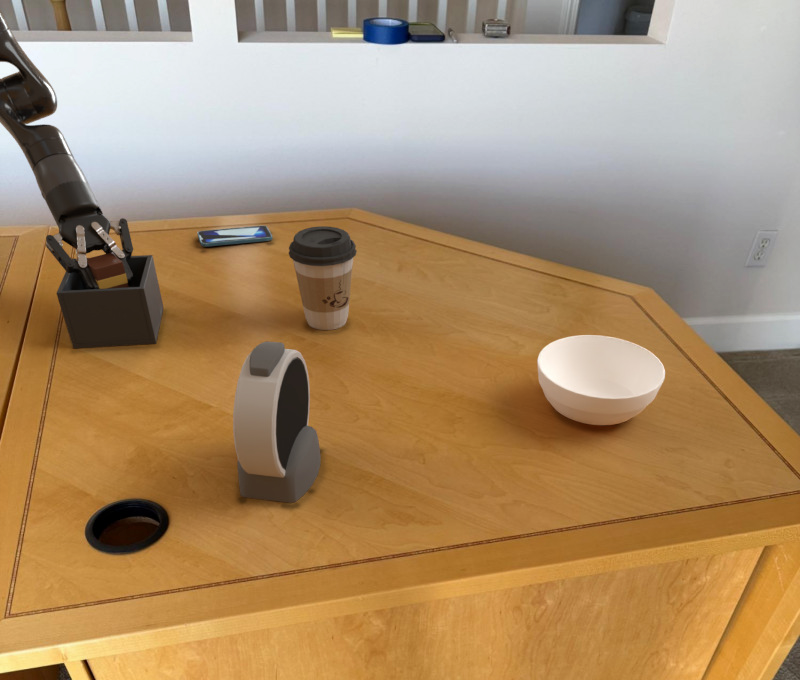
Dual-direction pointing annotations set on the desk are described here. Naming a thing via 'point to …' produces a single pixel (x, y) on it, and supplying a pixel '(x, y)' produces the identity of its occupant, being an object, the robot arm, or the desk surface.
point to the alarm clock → (274, 425)
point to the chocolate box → (108, 271)
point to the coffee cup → (324, 274)
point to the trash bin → (113, 308)
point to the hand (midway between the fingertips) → (113, 286)
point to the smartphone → (234, 235)
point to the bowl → (599, 378)
